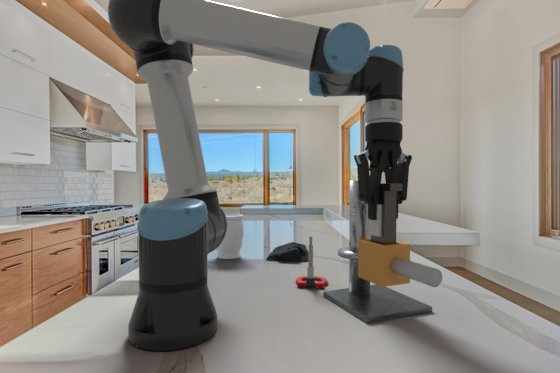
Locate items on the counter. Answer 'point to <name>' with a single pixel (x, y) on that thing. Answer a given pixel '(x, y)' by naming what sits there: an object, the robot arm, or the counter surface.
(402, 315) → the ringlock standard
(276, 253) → the dark slate chunk
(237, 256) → the jar
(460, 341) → the counter surface
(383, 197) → the wedge
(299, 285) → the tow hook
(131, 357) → the counter surface
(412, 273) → the bracket head
